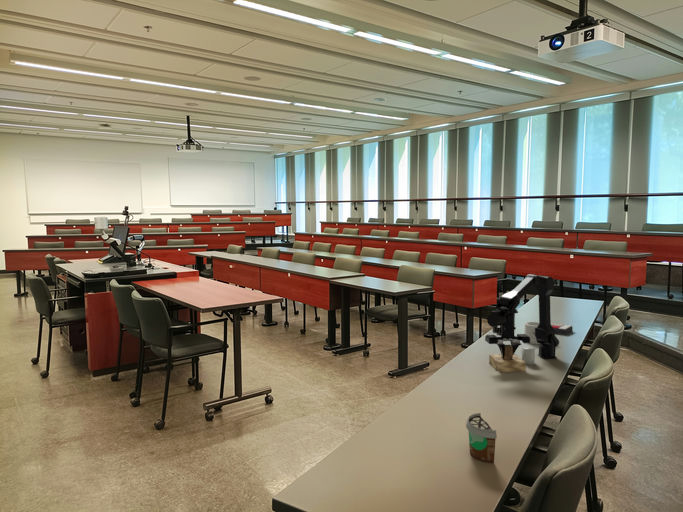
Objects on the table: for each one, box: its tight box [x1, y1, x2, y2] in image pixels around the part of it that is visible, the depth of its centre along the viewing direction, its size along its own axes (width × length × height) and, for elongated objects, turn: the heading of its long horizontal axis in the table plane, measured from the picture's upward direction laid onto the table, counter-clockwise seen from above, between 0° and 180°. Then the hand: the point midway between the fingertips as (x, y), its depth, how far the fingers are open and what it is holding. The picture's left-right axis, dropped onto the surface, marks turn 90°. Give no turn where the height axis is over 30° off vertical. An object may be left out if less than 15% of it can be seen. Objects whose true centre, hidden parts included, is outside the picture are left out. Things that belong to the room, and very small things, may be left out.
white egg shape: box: [521, 346, 536, 366], centre depth 214 cm, size 6×6×7 cm
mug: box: [523, 321, 540, 345], centre depth 247 cm, size 14×11×10 cm
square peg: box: [502, 344, 513, 360], centre depth 208 cm, size 3×3×8 cm
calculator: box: [551, 322, 574, 336], centre depth 269 cm, size 11×4×15 cm
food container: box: [465, 412, 498, 464], centre depth 134 cm, size 12×6×10 cm, turn 5°
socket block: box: [488, 353, 527, 373], centre depth 209 cm, size 12×12×4 cm
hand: (507, 357), depth 208 cm, fingers closed on square peg, 3 cm apart
